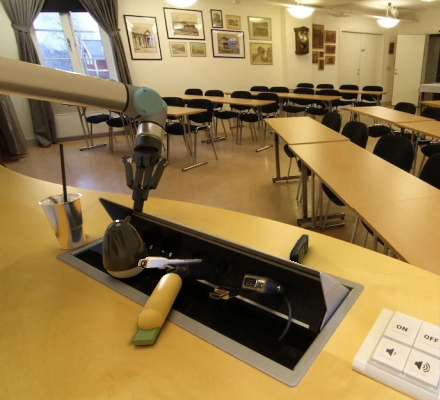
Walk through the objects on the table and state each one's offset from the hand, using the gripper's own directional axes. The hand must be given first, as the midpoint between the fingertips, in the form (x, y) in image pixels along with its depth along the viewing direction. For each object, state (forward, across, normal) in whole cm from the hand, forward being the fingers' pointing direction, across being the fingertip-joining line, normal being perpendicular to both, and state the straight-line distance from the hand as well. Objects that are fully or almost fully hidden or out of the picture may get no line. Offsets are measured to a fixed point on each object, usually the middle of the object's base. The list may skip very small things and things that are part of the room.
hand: (137, 210), depth 91 cm
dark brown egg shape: (+17, 0, -2) cm, 17 cm away
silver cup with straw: (+5, +24, -14) cm, 28 cm away
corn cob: (+29, -14, +10) cm, 34 cm away
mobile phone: (+15, -46, -5) cm, 48 cm away
